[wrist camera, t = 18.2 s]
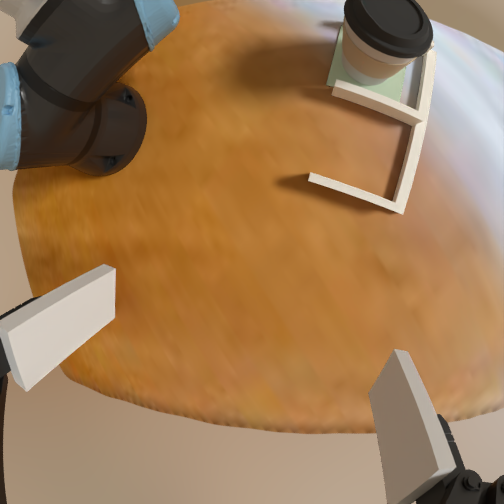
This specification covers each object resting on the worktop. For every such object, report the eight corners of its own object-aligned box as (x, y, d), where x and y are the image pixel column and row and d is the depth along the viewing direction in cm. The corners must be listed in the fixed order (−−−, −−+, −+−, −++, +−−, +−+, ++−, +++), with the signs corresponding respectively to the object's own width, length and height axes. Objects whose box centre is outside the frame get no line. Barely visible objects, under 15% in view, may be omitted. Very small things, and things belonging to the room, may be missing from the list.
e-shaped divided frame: (307, 180, 35) (308, 180, 31) (349, 22, 27) (353, 8, 24) (399, 213, 34) (409, 217, 30) (432, 55, 26) (443, 46, 22)
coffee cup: (377, 31, 27) (406, -27, 13) (408, 84, 28) (457, 44, 14) (321, 45, 29) (328, -19, 15) (351, 100, 31) (380, 56, 16)
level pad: (326, 84, 31) (326, 84, 31) (341, 25, 28) (341, 25, 28) (397, 110, 30) (397, 110, 30) (408, 50, 27) (408, 49, 27)
